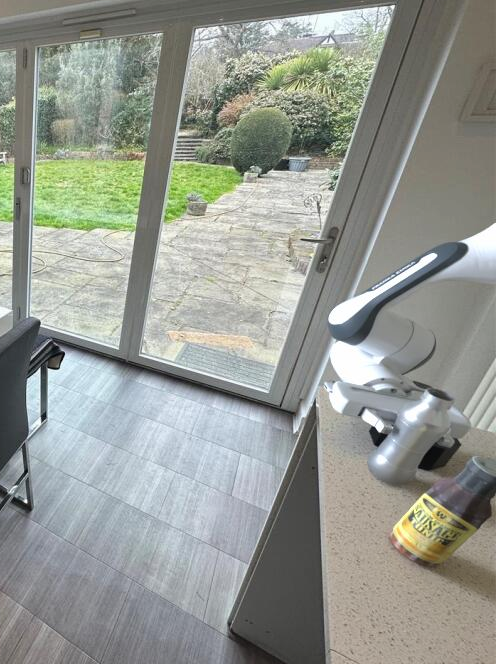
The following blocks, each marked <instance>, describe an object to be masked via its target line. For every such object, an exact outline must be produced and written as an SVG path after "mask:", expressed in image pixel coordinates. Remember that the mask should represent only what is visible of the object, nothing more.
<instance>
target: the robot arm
mask: <svg viewBox="0 0 496 664" xmlns="http://www.w3.org/2000/svg"><path fill="white" fill-rule="evenodd" d="M444 282H470V283H471V282H472V283H478V284H487V285H496V222H494V223H493V224H492V225H489V227H487V228H485V229H483V230H482V231H480V232H479V233H476V234H474V235H472V236H470V237H468V238H465V239H462V240H459V241H448V242H444V243H441V244H439V245H436V246H435V247H432V248H430V249H429V250H427V251H425V252H423V253H421V254H420V255H419V256H417V257H415V258H414V259H411V260H410V261H409V262H407V263H405V264H404V265H402V266H400V267H399V268H398V269H396V270H394V271H393V272H391V273H390V274H389V275H387V276H385V277H384V278H382V279H381V280H379V281H378V282H376V283H374V284H373V285H371V286H370V287H368V288H366V289H365V290H364V291H362V292H360V293H358V294H356V295H354V296H351V297H350V298H348V299H347V298H346V299H345V300H343V301H341V302H339V303H338V304H336V305H335V306H334V307H333V308H332V309H331V310H330V312H329V313H328V315H327V328H328V331H329V333H330V335H331V337H332V338H333V339H334V340H336V341H337V342H335V343H334V344H333V345H332V347H331V349H330V353H329V357H330V361H331V365H332V367H333V369H334V371H335V372H336V374H337V375H338V377H339V379H340V380H338V381H337V380H332V379H331V380H329V381H324V382H323V387H324V389H325V390H326V391H327V393H328V398H329V401H330V404H331V406H332V408H333V410H334V411H336V412H337V413H339V414H341V415H342V416H343V415H344V416H348V417H354V418H358V419H362V420H363V421H364V422H366V423H368V424H369V425H371V427H372V426H374V427H376V429H377V430H378V432H380V433H385V434H390V433H391V431H392V430H393V426H392V425H394V424H395V421H396V419H397V416H398V413H399V411H400V409H401V407H403V406H404V405H406V404H407V403H410V402H413V401H417V400H421V398H420V397H421V395H422V394H423V393H424V392H425V390H426V389H427V388H436V389H438V387H435V386H433V385H429V384H427V383H423V382H421V381H417V380H414V379H412V378H410V377H408V376H406V375H407V374H409V373H411V372H413V371H416V370H417V369H420V368H421V367H422V366H424V365H425V364H426V363H428V362H430V360H431V359H432V358H433V356H434V354H435V352H436V349H437V338H436V336H435V334H434V332H433V330H431V329H428V328H426V327H425V326H423V325H421V324H419V323H417V322H415V321H412V320H411V319H409V318H405V317H403V316H401V315H400V314H397V313H395V312H393V311H391V309H393V308H394V307H395V306H397V305H399V304H401V303H402V302H404V301H405V300H407V299H409V298H411V297H412V296H414V295H416V294H418V293H419V292H421V291H422V290H424V289H426V288H428V287H429V286H433V285H435V284H439V283H444ZM447 413H448V415H449V418H450V422H451V425H450V429H449V431H448V432H447V433H446V434H444V436H442V437H441V438H440V439H439V440H438V441H437V443H438V445H441V446H445V447H449V448H451V447H452V445H453V444H454V442H455V441H454V439H453V438H456V439H458V440H461V439H463V438H464V437H465V436H466V435H467V434H468V433H469V432H470V430H471V428H472V422H471V420H470V419H469V418H468V417H467V415H465V414H464V412H462V411H461V410H460V409H459V408H458V406H456V405H455V403H453V405H452V408H451V409H450V410H447Z"/></svg>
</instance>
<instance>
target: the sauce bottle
mask: <svg viewBox="0 0 496 664" xmlns="http://www.w3.org/2000/svg"><path fill="white" fill-rule="evenodd" d="M465 464H466V466H465V467H464V468H463V470H461V471H460V472H459V473H458V474H456V475H455V476H452V477H448V478H442V479H439V480H437V481H435V483H434V484H433V485H432V486H431V487H430V488H429V489H428V490H427V491H425V492H424V493H423V494H422V495H421V496H420V497H419V499H417V501H416V502H414V504H413V505H412V506H411V507H410V509H408V510H407V512H406V513H405V514H404V515H403V516H402V517H401V518H400V519H399V520H398V522H397V523H396V524H395V525H394V526H393V529H392V530H391V531H390V533H389V540H390V541H391V543H392V544H393V546H394V547H395V548H396V550H398V552H400V553H401V554H402V556H405V557H406V558H407V559H409V560H411V561H413V562H415V563H416V564H418V565H420V566H423V567H438V566H440V564H442V563H445V562H446V560H448V558H450V557H451V556H452V555H453V554H454V553H455V552H456V551H457V550H458V549H459V548H460V547H461V546H462V545H464V544H465V543H466V542H467V541H468V540H469V539H470V538H471V537H472V536H473V535H475V533H476V532H477V531H478V530H480V528H481V527H482V525H483V524H485V523H486V522H487V521H488V520H489V519H490V518H491V517H492V516H493V512H492V511H493V509H492V503H491V500H492V499H494V498H495V496H496V460H494V459H492V458H489V457H485V456H480V455H474V456H472V457H471V458H470V459H469V460H468V461H467V462H466V463H465Z"/></svg>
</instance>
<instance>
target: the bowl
mask: <svg viewBox="0 0 496 664" xmlns="http://www.w3.org/2000/svg"><path fill="white" fill-rule="evenodd" d="M392 426H394V425H392ZM368 433H369V435H370V438H371V440H372V443H373V445H374V446H375V447H376V448H377V447H379V446H380V445H381V443H382V442H383V441H384V440H385V439H386V438H387V436H388V435H389V434H385V433H380V432H378V430H377V429H376V427H374V426H372V425H371V427H370V428H369V430H368ZM453 439H454V441H455V442H454V444H453V445H452V447H451V448H449V447H445V446H441V445H438V443H437V442H435V443H434V444H433V445H432V447H431V448H430V449H429V450H428V451H427V452H426V453H425V455H424V456H423V458H422V460H421V462H420V464H419V465H418V468H417V469H420V470H424V471H427V472H430V471H434V470H437V469H440V468H444V467H446V465H447V464H448V463H449V462H450V460H452V458H453V456H454V455H455V454H456V452H457V451H458V450H459V449H460V448H461V446H462V443H461V442H460V439H456V438H453Z"/></svg>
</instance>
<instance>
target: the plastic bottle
mask: <svg viewBox="0 0 496 664" xmlns="http://www.w3.org/2000/svg"><path fill="white" fill-rule="evenodd" d="M436 388H437V387H435V388H427V389H426V390H425V392H424V393H423V394H422V395H421V397H420V398H421V400H417V401H413V402H410V403H407V404H406V405H404V406H403V407H401V409H400V411H399V413H398V416H397V419H396V421H395V424H394V426H393V430H392V431H391V433H390V434H389V435H388V436H387V438H386V439H385V440H384V441H383V442H382V443H381V445H380V446H379V447H377V446H376V447H375V449H374V450H373V451H371V453H369V455H368V459H367V466H368V468H369V470H370V472H371V473H372V474H373V475H374V476H376V477H377V479H380V480H381V481H384V482H385V483H387V484H390V485H393V486H394V485H395V486H400V485H406V484H408V483H410V482H411V481H412V480H414V478H415V477H416V474H417V472H418V469H419V468H418V465H419V464H420V462H421V460H422V458H423V456H424V455H425V453H426V452H427V451H428V450H429V449H430V448H431V447H432V445H433V444H434V443H435V442H437V441H438V440H439V439H440V438H441V437H442V436H444V434H446V433H447V432H448V431H449V429H450V425H451V422H450V418H449V415H448V413H447V410H450V409H451V408H452V405H453V404H455V402H456V398H455V397H454V396H453V395H452V394H451V393H449V392H447V391H445V390H442V389H440V388H437V389H436Z"/></svg>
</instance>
